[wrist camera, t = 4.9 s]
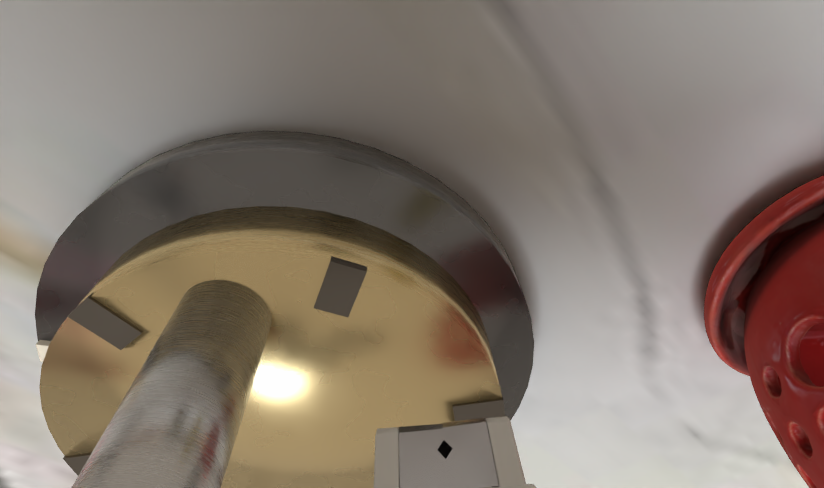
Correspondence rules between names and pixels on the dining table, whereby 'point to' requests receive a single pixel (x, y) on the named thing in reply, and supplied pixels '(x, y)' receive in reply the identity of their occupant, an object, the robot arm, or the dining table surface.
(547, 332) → the dining table surface
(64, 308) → the grey round ring
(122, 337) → the tan disc with rod
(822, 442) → the plant pot
